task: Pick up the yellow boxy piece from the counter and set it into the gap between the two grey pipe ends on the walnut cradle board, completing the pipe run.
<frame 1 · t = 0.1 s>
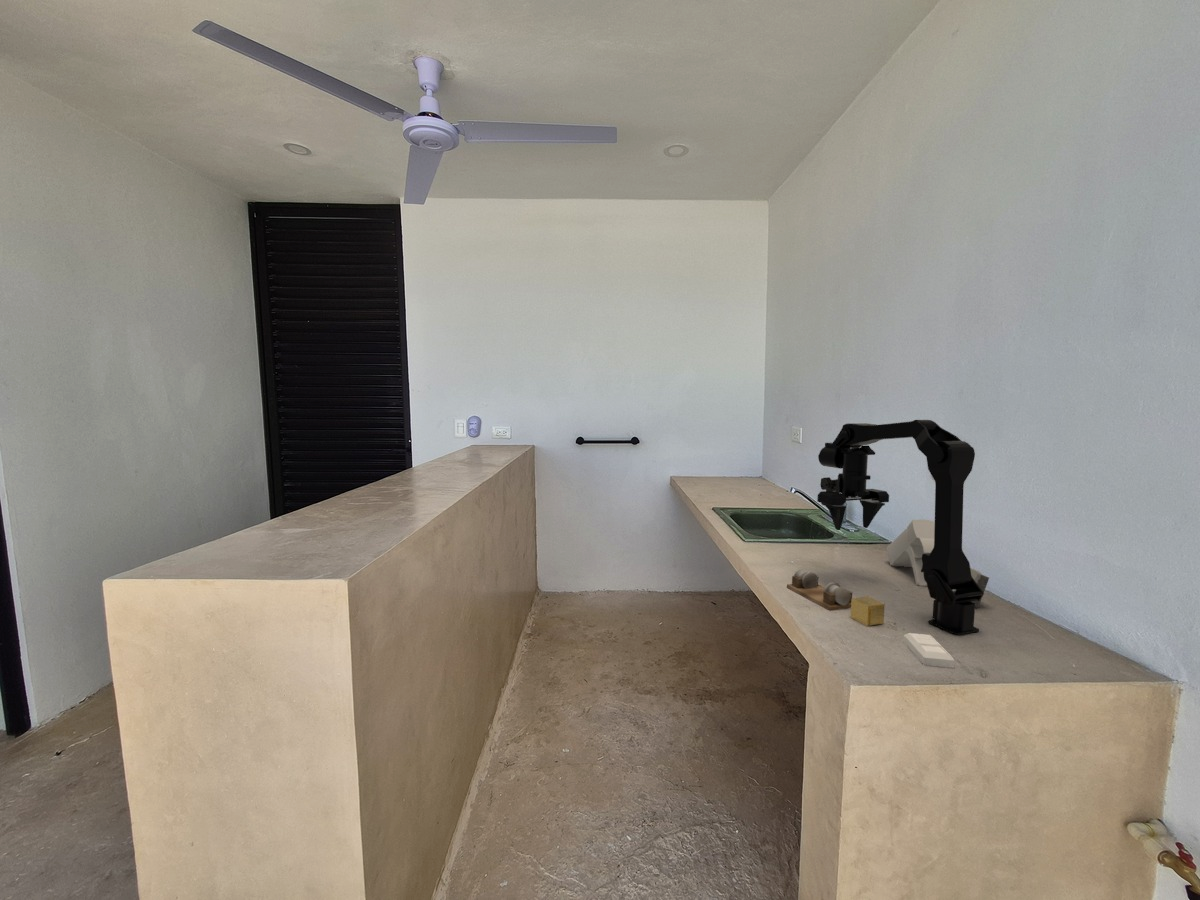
hand: (851, 528, 129), 15 cm above the table, tool pointing down, fingers open, 9 cm apart
electrical switch: (960, 602, 117), on the table
pipe cradle: (820, 596, 120), on the table
soap bar: (927, 657, 92), on the table
faucet: (911, 575, 136), on the table
yellow boxy piece: (866, 620, 106), on the table
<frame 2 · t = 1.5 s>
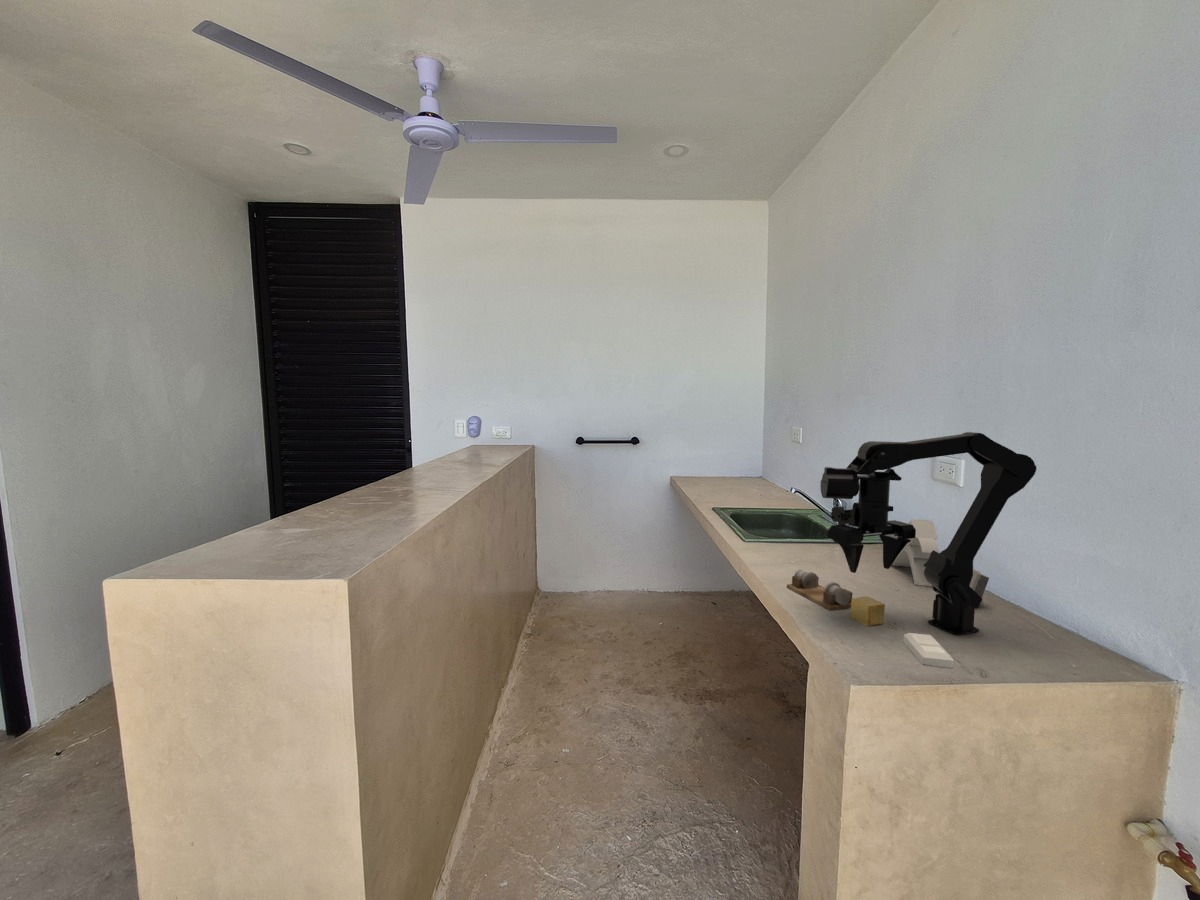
hand: (869, 570, 105), 11 cm above the table, tool pointing down, fingers open, 9 cm apart
nothing on the table moved.
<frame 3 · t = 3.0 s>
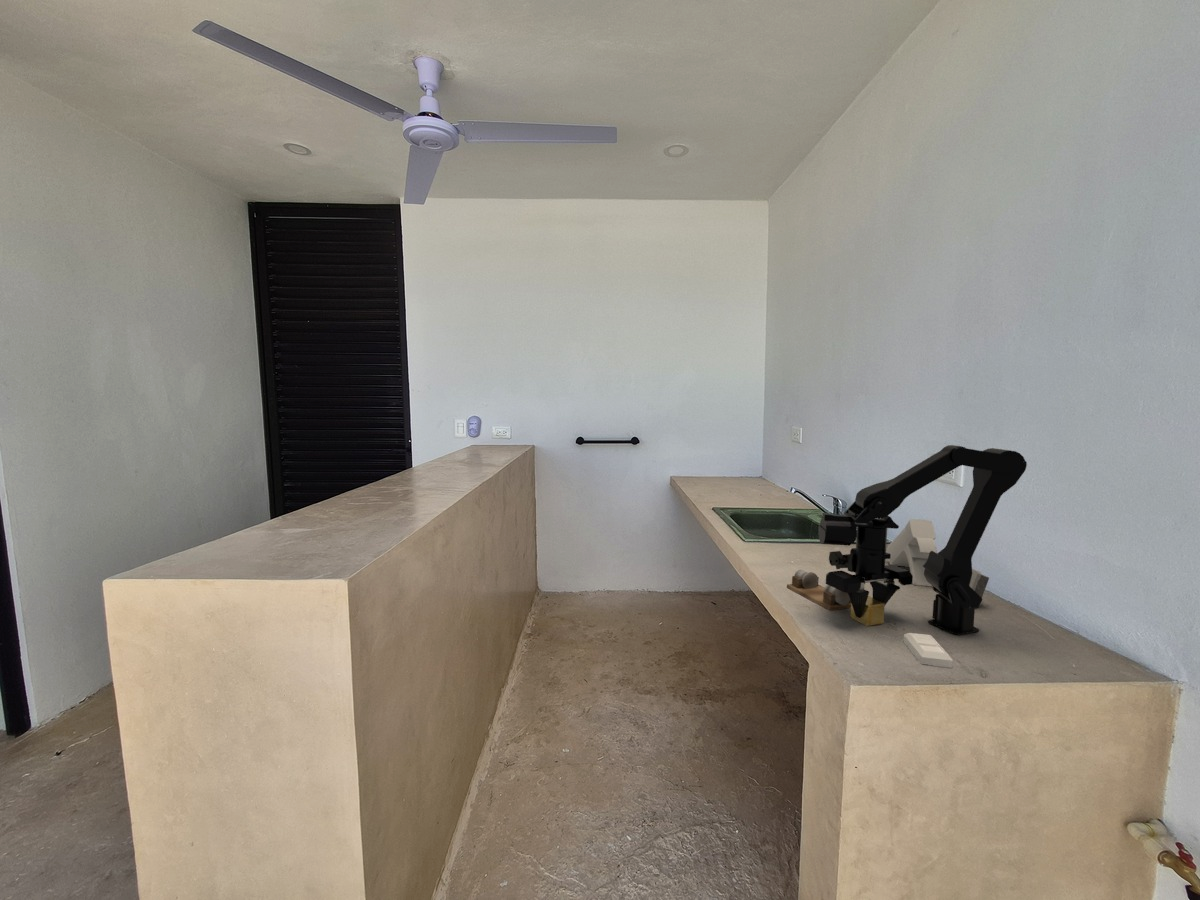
hand: (867, 615, 106), 1 cm above the table, tool pointing down, fingers closed on yellow boxy piece, 4 cm apart
yellow boxy piece: (866, 620, 106), on the table, touching gripper
everything else where it was.
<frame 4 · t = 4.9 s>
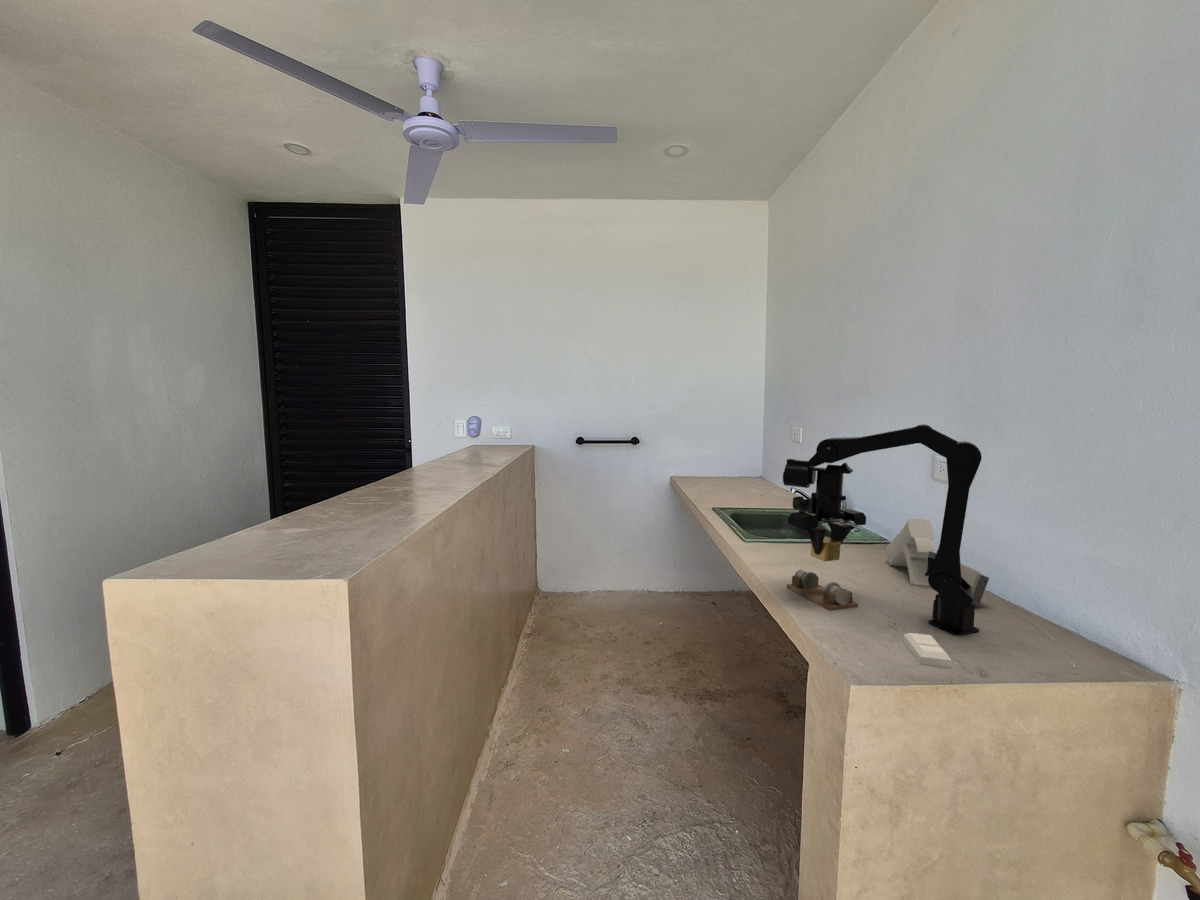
hand: (825, 553, 118), 11 cm above the table, tool pointing down, fingers closed on yellow boxy piece, 4 cm apart
yellow boxy piece: (824, 557, 118), point 10 cm above the table, touching gripper
everything else where it was.
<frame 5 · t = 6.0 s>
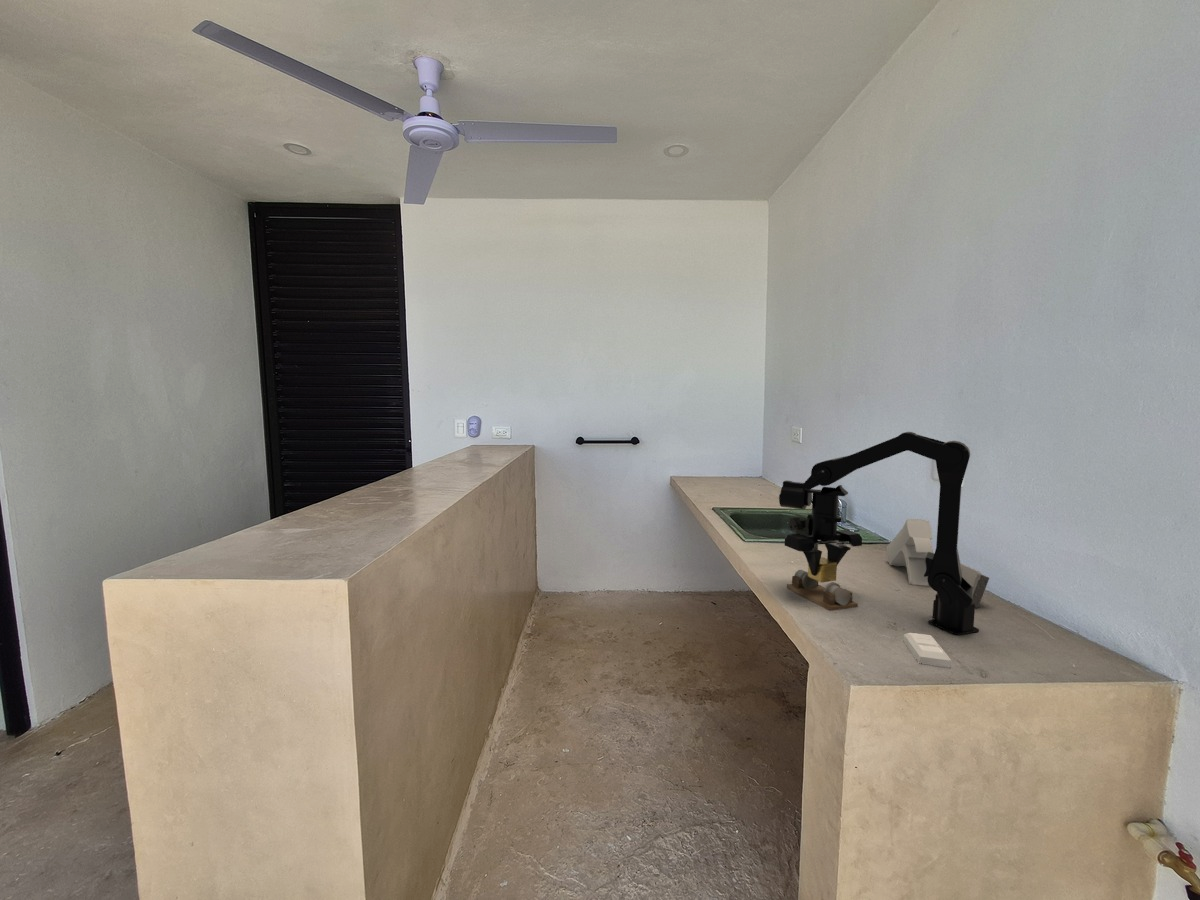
hand: (821, 574, 119), 6 cm above the table, tool pointing down, fingers closed on yellow boxy piece, 4 cm apart
yellow boxy piece: (821, 578, 119), point 5 cm above the table, touching gripper
everything else where it was.
when the fingers open (3 cm above the table, at t = 6.8 s): yellow boxy piece drops 1 cm, resting on pipe cradle.
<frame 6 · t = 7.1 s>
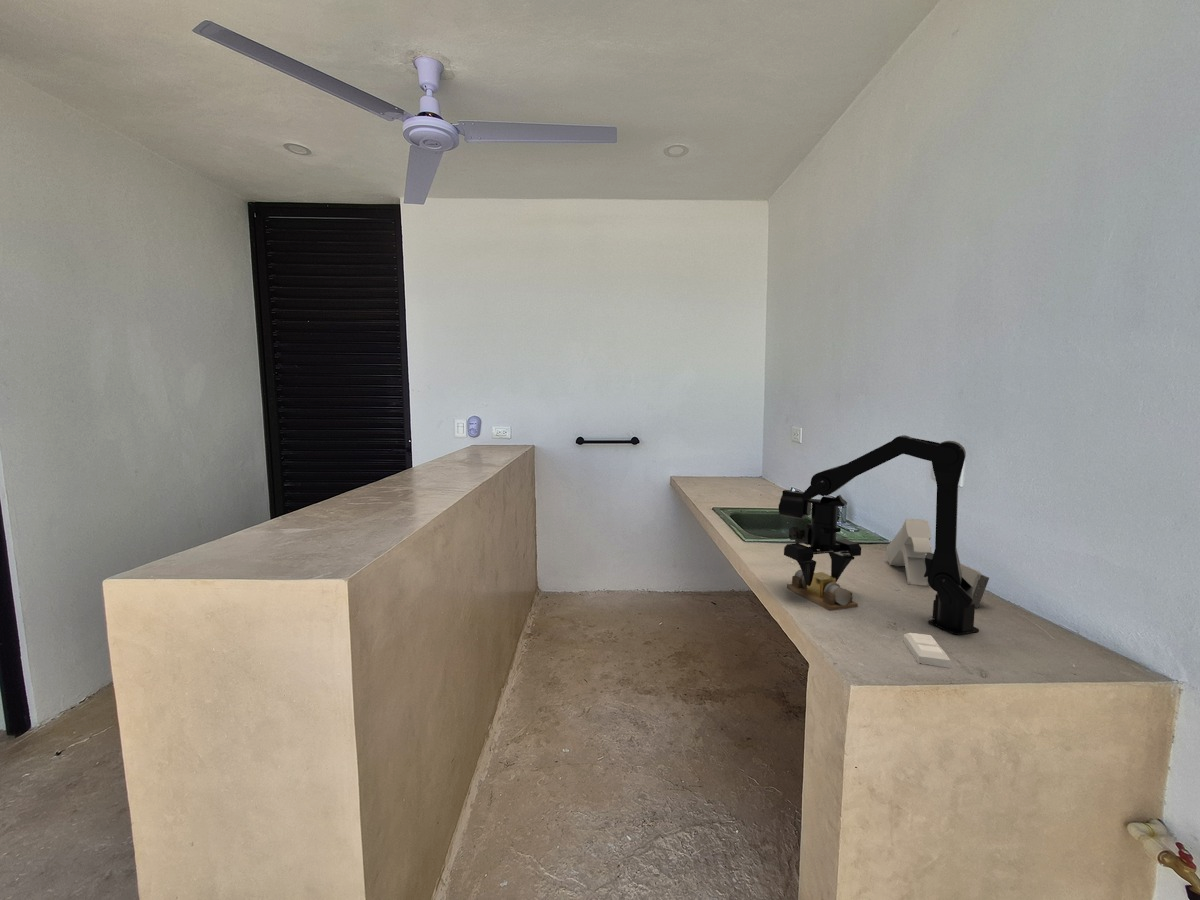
hand: (821, 583, 119), 3 cm above the table, tool pointing down, fingers open, 7 cm apart
yellow boxy piece: (820, 593, 120), point 1 cm above the table, touching pipe cradle
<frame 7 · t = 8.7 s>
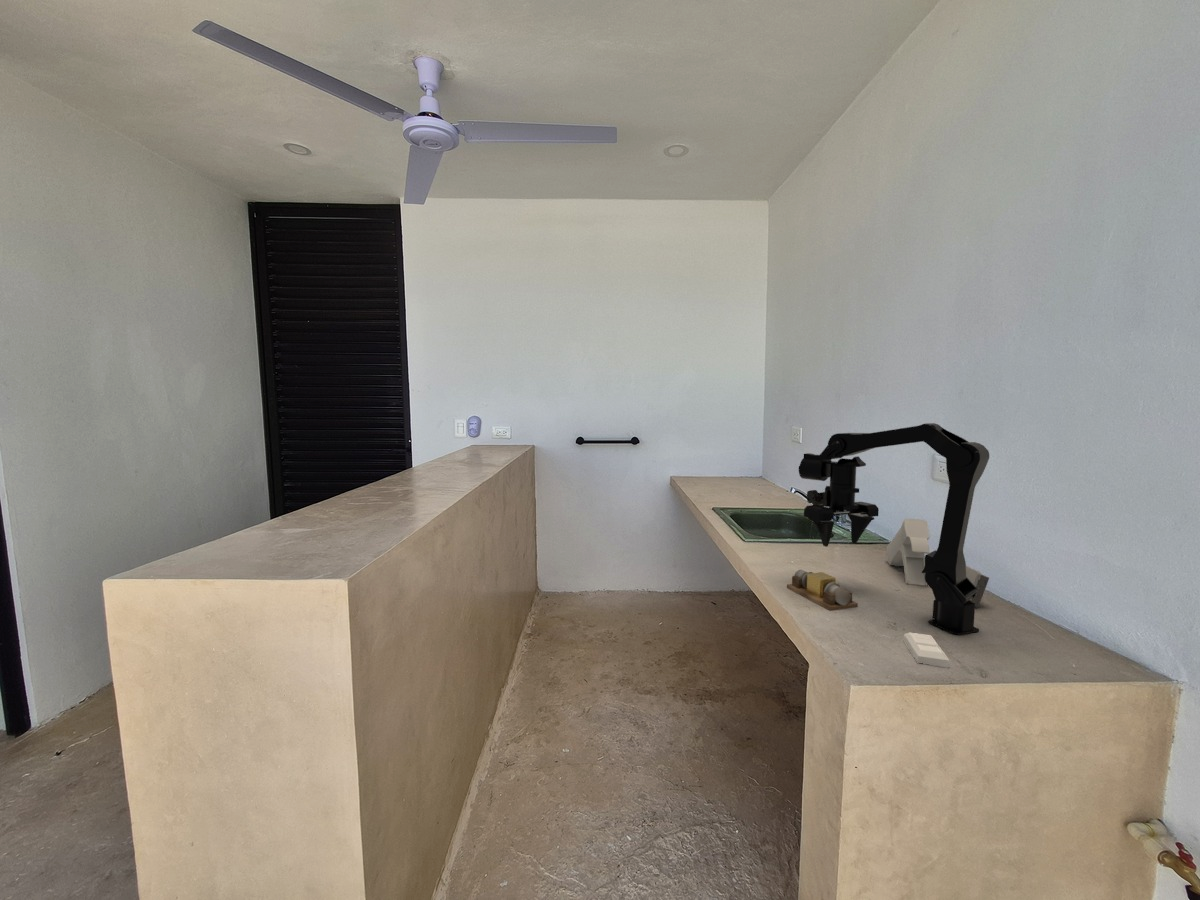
hand: (839, 544, 121), 12 cm above the table, tool pointing down, fingers open, 9 cm apart
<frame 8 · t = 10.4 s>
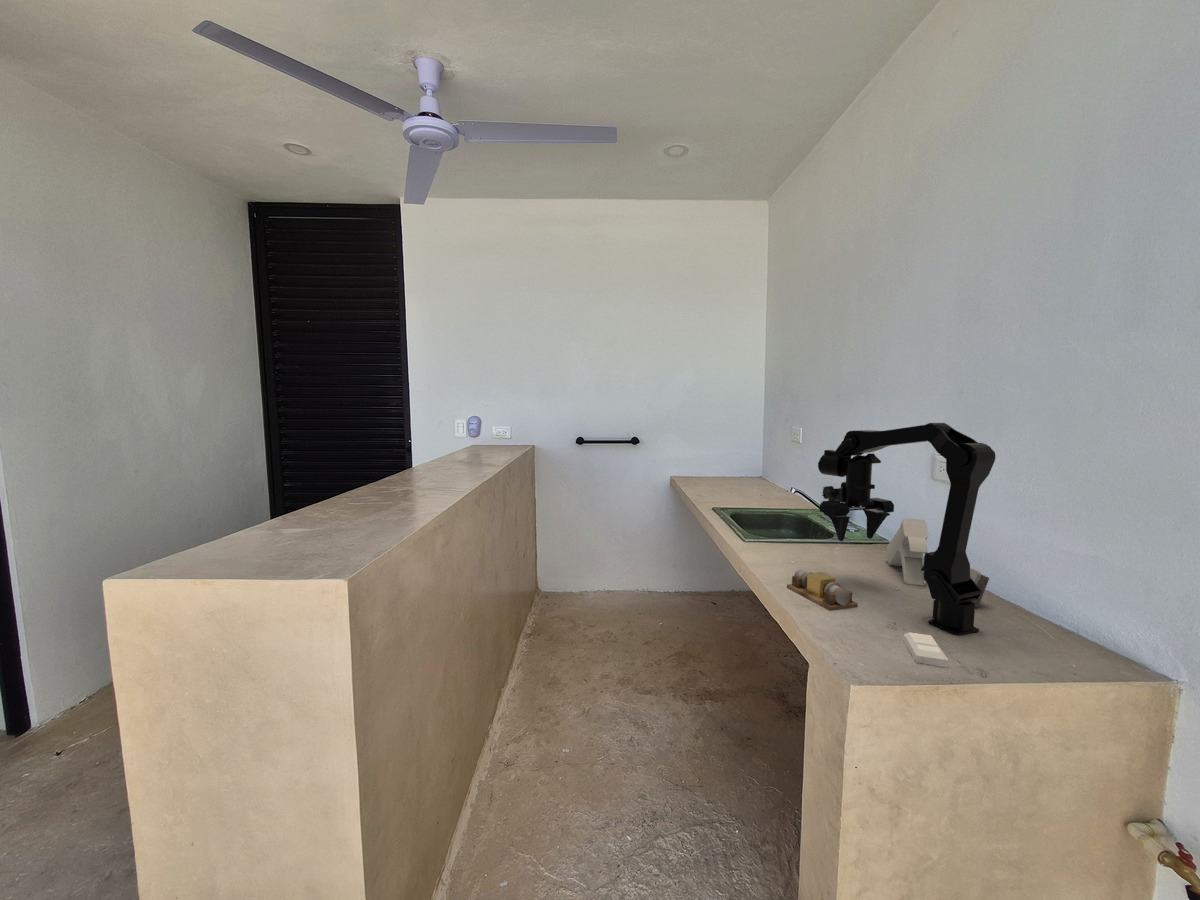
hand: (855, 539, 124), 13 cm above the table, tool pointing down, fingers open, 9 cm apart
at the end: yellow boxy piece 0.1 cm off-centre on the pipe cradle, point 0.8 cm above the pipe cradle's base; yellow boxy piece tilted 0°; the gripper is holding nothing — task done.
